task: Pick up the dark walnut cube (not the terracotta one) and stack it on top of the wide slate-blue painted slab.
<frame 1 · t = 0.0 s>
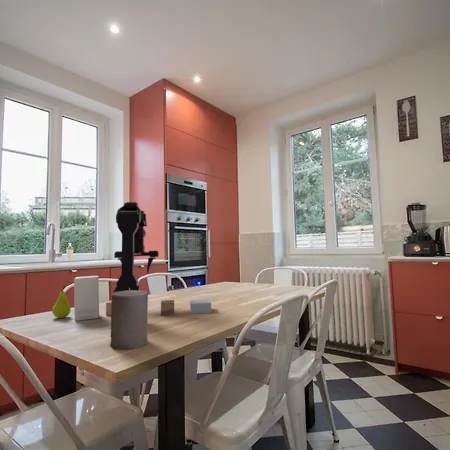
hand: (137, 273, 137), 15 cm above the table, tool pointing down, fingers open, 9 cm apart
terracotta cube: (112, 314, 122), on the table
fruit: (61, 318, 116), on the table
pillar candle: (129, 344, 83), on the table
slate slab: (200, 311, 124), on the table
walnut cube: (167, 314, 120), on the table
skincare box: (86, 318, 115), on the table
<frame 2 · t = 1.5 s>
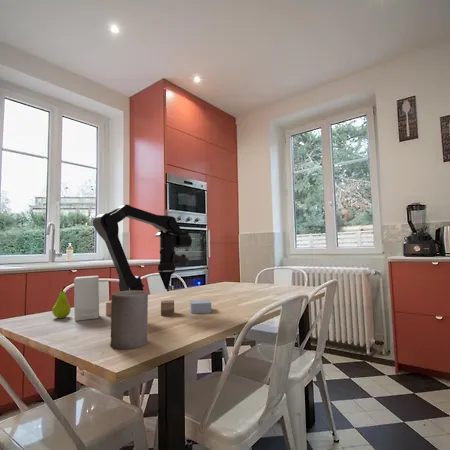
hand: (167, 287, 120), 10 cm above the table, tool pointing down, fingers open, 9 cm apart
nothing on the table moved.
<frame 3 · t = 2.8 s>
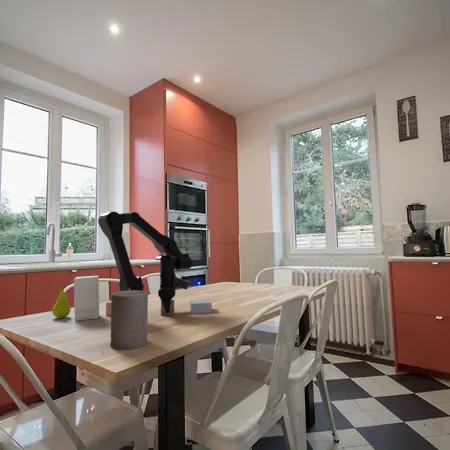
hand: (167, 311, 120), 1 cm above the table, tool pointing down, fingers closed on walnut cube, 5 cm apart
walnut cube: (167, 314, 120), on the table, touching gripper
everything else where it was.
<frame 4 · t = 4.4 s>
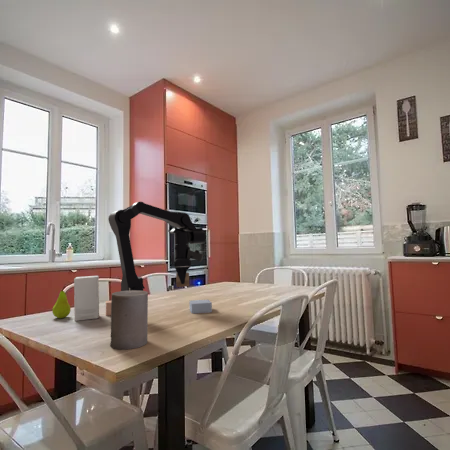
hand: (182, 283, 123), 12 cm above the table, tool pointing down, fingers closed on walnut cube, 5 cm apart
walnut cube: (182, 285, 123), point 11 cm above the table, touching gripper
everything else where it was.
when the fingers open (6 cm above the table, at t = 6.1 s): walnut cube drops 1 cm, point 4 cm above the table.
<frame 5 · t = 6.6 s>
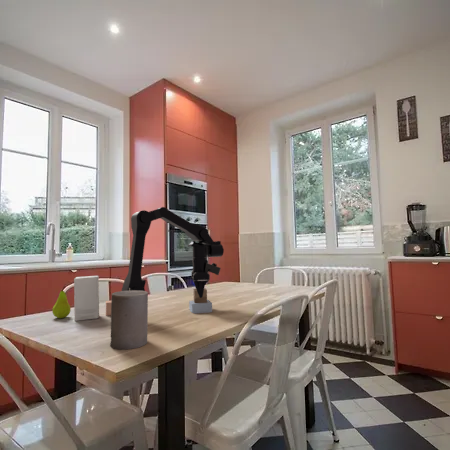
hand: (200, 295, 125), 6 cm above the table, tool pointing down, fingers open, 9 cm apart
walnut cube: (200, 301, 125), point 4 cm above the table
everything else where it was.
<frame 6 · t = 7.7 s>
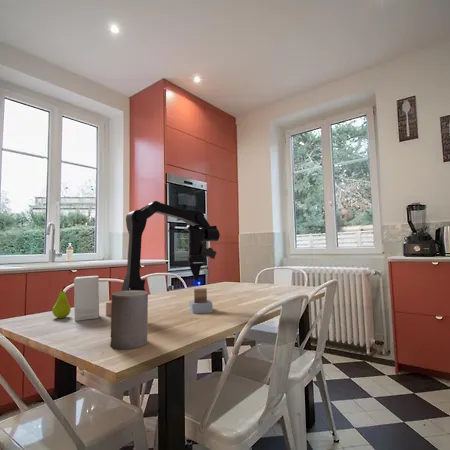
hand: (195, 279, 125), 13 cm above the table, tool pointing down, fingers open, 9 cm apart
nothing on the table moved.
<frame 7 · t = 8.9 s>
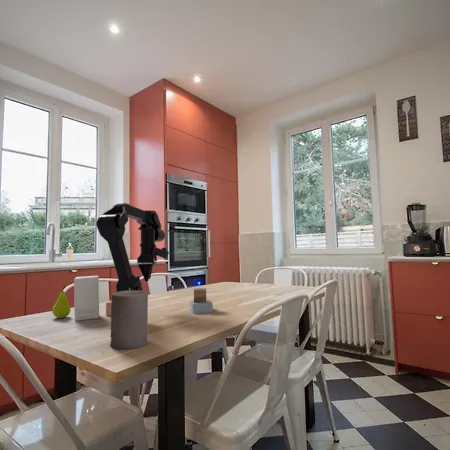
hand: (147, 280, 123), 13 cm above the table, tool pointing down, fingers open, 9 cm apart
nothing on the table moved.
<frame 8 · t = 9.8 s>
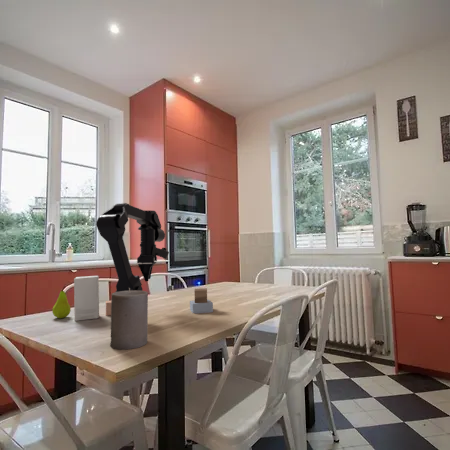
hand: (147, 280, 123), 13 cm above the table, tool pointing down, fingers open, 9 cm apart
slate slab: (201, 311, 124), on the table, touching walnut cube
walnut cube: (201, 301, 125), point 4 cm above the table, touching slate slab
everything else where it was.
at the end: walnut cube 0.1 cm off-centre on the slate slab, point 4.0 cm above the slate slab's base; walnut cube tilted 0°; the gripper is holding nothing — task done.
